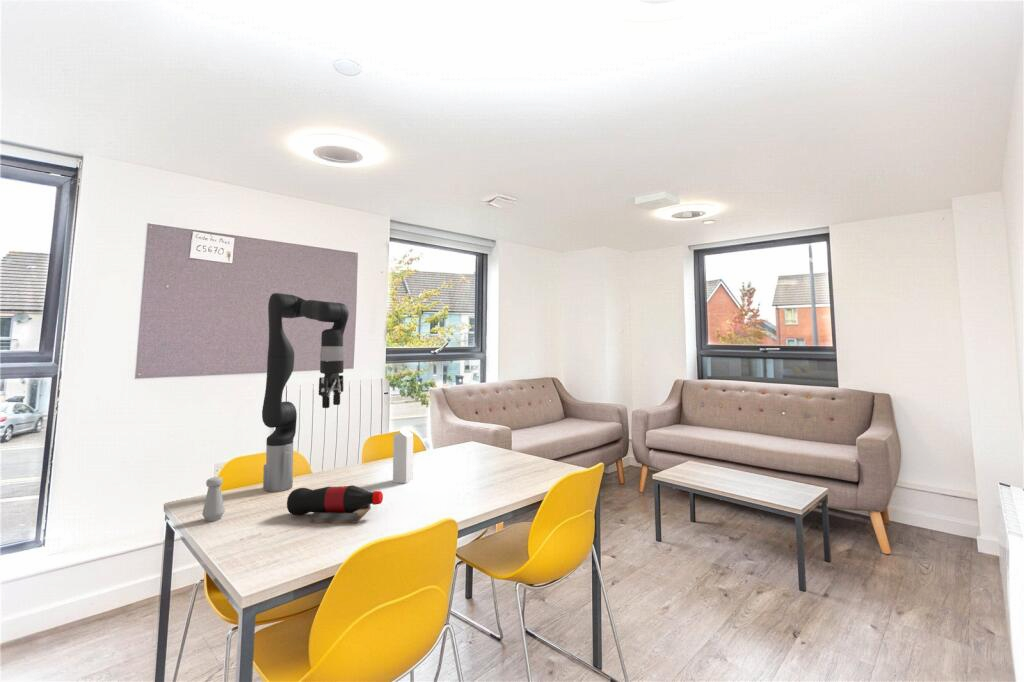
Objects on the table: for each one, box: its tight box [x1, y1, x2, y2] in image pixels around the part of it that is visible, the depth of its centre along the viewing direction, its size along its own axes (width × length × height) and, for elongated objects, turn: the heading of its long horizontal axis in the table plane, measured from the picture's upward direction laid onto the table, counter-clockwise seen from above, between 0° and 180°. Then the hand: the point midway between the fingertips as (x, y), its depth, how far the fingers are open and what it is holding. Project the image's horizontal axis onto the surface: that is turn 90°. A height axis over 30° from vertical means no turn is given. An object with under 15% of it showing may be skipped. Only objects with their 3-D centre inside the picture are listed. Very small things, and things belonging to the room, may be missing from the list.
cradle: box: [310, 504, 372, 525], centre depth 144 cm, size 14×13×3 cm
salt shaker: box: [202, 476, 226, 523], centre depth 141 cm, size 6×6×13 cm
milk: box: [392, 425, 414, 484], centre depth 183 cm, size 6×6×22 cm
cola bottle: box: [286, 484, 384, 516], centre depth 144 cm, size 8×8×30 cm
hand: (331, 406), depth 154 cm, fingers open, 8 cm apart
